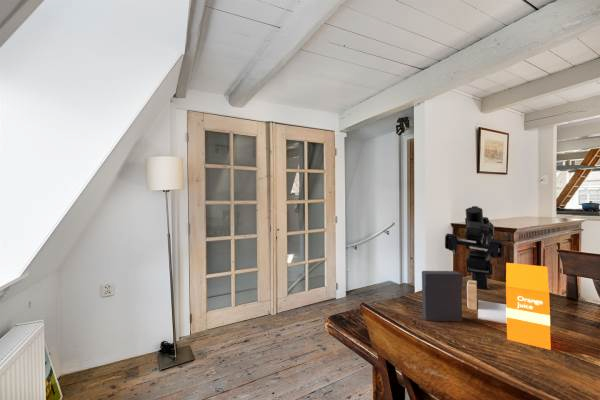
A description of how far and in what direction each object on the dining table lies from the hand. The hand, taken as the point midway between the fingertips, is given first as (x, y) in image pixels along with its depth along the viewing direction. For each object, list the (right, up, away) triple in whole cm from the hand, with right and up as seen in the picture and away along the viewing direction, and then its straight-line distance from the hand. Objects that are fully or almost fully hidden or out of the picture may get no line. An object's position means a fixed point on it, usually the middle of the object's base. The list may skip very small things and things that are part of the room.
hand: (470, 256), depth 99 cm
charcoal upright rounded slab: (-16, -18, -11) cm, 26 cm away
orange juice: (0, -17, -25) cm, 30 cm away
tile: (+1, -17, -1) cm, 17 cm away
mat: (+7, -17, -8) cm, 20 cm away
